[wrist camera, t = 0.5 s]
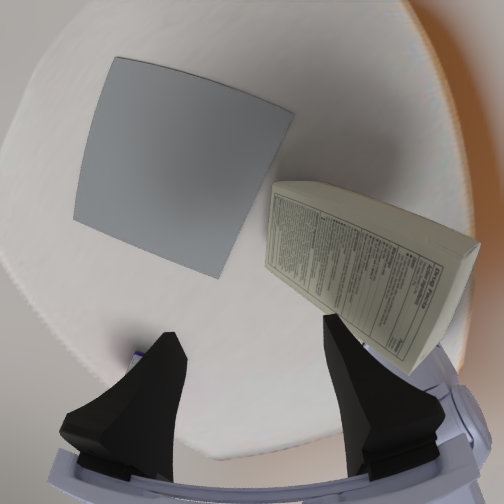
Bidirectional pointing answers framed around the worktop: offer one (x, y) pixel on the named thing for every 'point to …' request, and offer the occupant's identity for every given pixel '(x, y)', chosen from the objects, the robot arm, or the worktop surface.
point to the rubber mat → (175, 162)
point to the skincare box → (369, 266)
